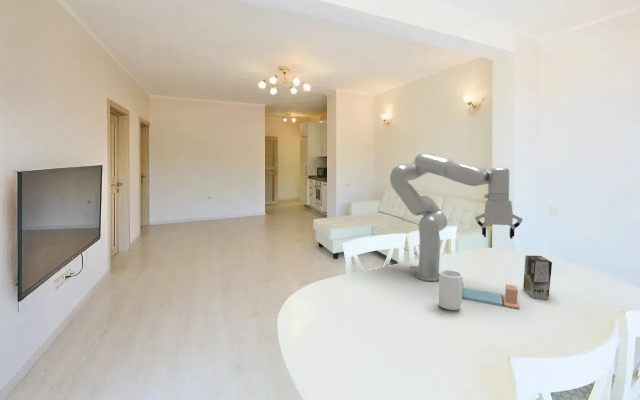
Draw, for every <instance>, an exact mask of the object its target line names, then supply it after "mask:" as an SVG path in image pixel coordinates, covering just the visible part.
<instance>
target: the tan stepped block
mask: <svg viewBox="0 0 640 400" xmlns="http://www.w3.org/2000/svg"><path fill="white" fill-rule="evenodd" d="M504 292H505V294H502V297H503V303H504V306H503V307H507V308H513V309H517V310H519V309H520V304H519V303H520V302H519V300H518V294H519V293H518V287H517V285H512V284H505V291H504Z"/></svg>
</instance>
